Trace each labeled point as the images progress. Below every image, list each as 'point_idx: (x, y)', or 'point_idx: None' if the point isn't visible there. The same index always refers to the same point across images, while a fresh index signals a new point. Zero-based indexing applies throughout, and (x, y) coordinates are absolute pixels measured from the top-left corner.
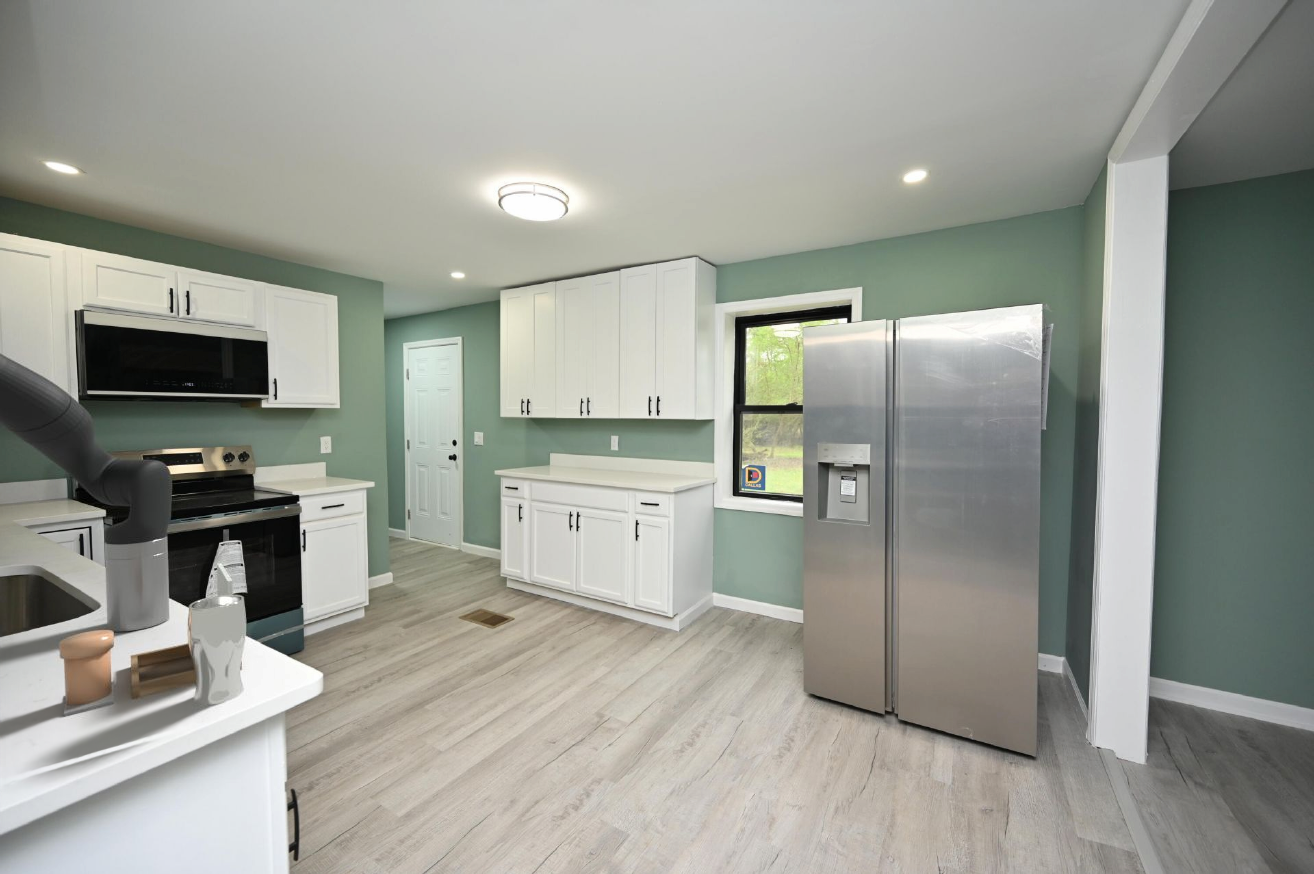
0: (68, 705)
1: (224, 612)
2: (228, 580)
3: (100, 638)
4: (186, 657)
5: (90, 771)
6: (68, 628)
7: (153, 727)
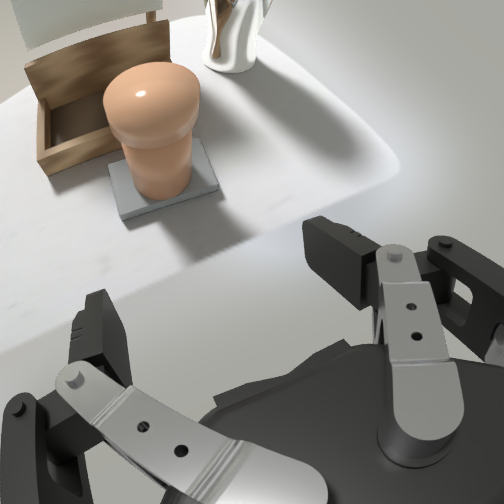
0: (184, 190)
1: None
2: None
3: (174, 69)
4: (57, 114)
5: (367, 127)
6: None
7: (284, 95)
